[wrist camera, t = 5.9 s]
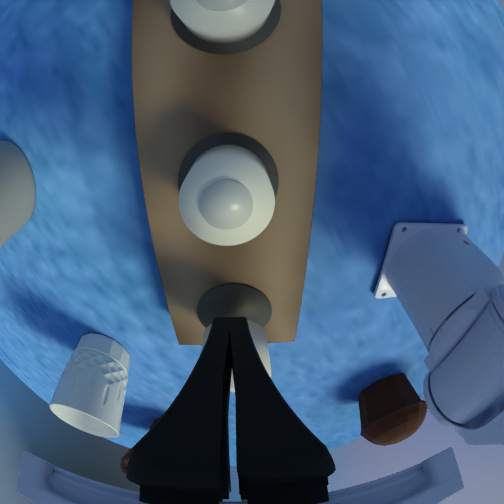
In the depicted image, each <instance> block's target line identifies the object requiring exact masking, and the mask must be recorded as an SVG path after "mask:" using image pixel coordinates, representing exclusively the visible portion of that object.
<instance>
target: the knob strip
mask: <svg viewBox="0 0 504 504" xmlns="http://www.w3.org/2000/svg"><path fill="white" fill-rule="evenodd" d="M132 86H133V104H134V117H135V129H136V139H137V148H138V156H139V164H140V172H141V179H142V185H143V192H144V198H145V204H146V210H147V215H148V221H149V226H150V231H151V236H152V241H153V246H154V251H155V255H156V260H157V264H158V268H159V273H160V277H161V281H162V285H163V289H164V293H165V297H166V300H167V304H168V308H169V312H170V315H171V319H172V322H173V326H174V329H175V333H176V336H177V339H178V342H179V345H202V338H203V333H204V331H205V329H206V328H207V327H208V326H209V325H211V324H212V322H213V319H214V318H215V317H246V318H247V320H251V321H253V322H255V323H257V324H259V325H260V326H261V327H262V328H263V329H264V330H265V332H266V334H267V341H268V343H278V342H292V341H295V336H296V330H297V325H298V319H299V312H300V306H301V300H302V293H303V287H304V280H305V273H306V265H307V258H308V250H309V242H310V234H311V225H312V216H313V207H314V197H315V186H316V175H317V163H318V149H319V134H320V116H321V92H322V2H321V0H275V2H274V5H273V7H272V9H271V11H270V13H269V16H268V18H267V20H266V22H265V24H264V25H263V26H262V28H261V29H260V30H259V31H257V32H256V33H255V34H254V35H252V36H250V37H248V38H246V39H244V40H241V41H238V42H233V43H213V42H208V41H205V40H203V39H201V38H198V37H197V36H195V35H194V34H193V33H192V32H190V30H189V29H188V28H187V27H186V26H185V24H184V23H183V22H182V21H181V20H180V18H179V17H178V16H177V15H176V13H175V12H174V10H173V9H172V6H171V4H170V0H133V12H132ZM226 144H230V145H238V146H241V147H244V148H246V149H248V150H250V151H252V152H253V153H254V154H255V155H257V156H258V158H259V159H260V160H261V161H262V163H263V164H264V166H265V169H266V171H267V174H268V177H269V180H270V182H271V185H272V188H273V191H274V196H275V207H274V212H273V215H272V218H271V220H270V222H269V224H268V225H267V227H266V228H265V229H264V230H263V231H262V232H261V233H260V234H259V235H258V236H256V237H255V238H253V239H252V240H250V241H247V242H245V243H242V244H238V245H231V246H222V245H215V244H212V243H209V242H206V241H204V240H202V239H200V238H199V237H197V236H196V235H195V234H193V233H192V232H191V231H190V230H189V228H188V227H187V226H186V224H185V223H184V221H183V219H182V217H181V214H180V211H179V203H178V199H179V192H180V188H181V186H182V183H183V182H184V180H185V178H186V176H187V174H188V173H189V171H190V169H191V167H192V165H193V164H194V162H195V161H196V159H197V158H198V157H199V156H200V155H201V154H202V153H204V152H205V151H207V150H208V149H210V148H213V147H215V146H219V145H226Z"/></svg>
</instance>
